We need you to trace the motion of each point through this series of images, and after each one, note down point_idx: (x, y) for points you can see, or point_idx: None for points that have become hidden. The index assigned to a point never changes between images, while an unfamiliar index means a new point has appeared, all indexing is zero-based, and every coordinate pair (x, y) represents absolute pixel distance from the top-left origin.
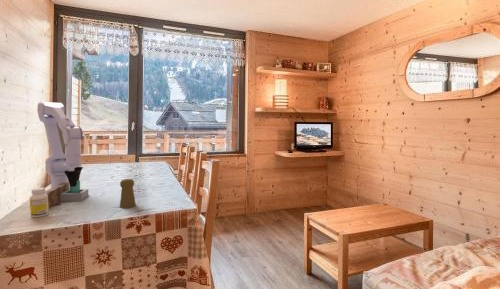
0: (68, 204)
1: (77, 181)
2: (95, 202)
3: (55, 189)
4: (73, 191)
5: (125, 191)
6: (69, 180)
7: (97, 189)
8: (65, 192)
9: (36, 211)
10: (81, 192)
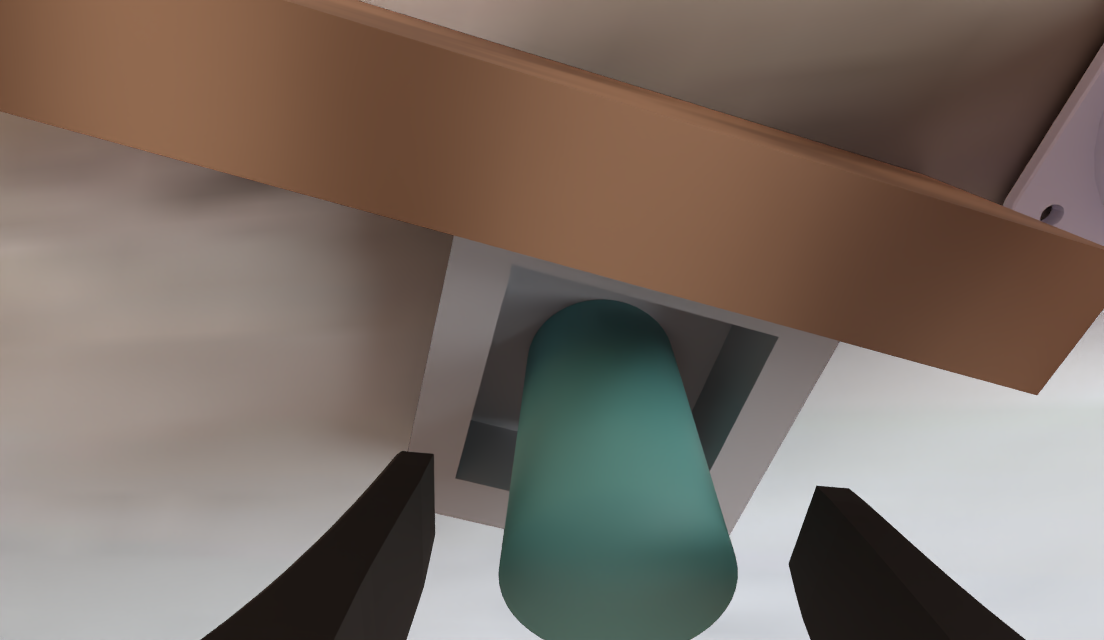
0: (221, 291)
1: (582, 621)
2: (243, 552)
3: (194, 161)
4: (523, 412)
5: None
6: (314, 570)
7: (1019, 586)
8: (586, 279)
9: None
10: (466, 501)
